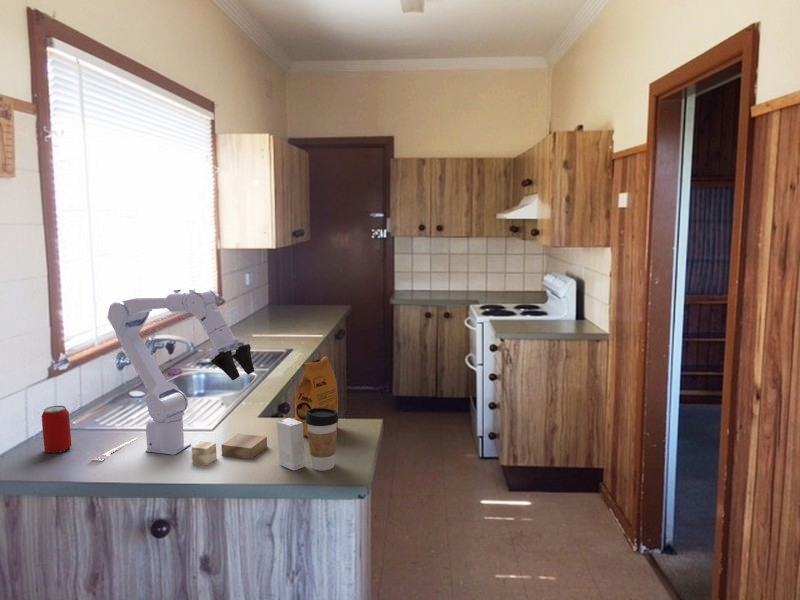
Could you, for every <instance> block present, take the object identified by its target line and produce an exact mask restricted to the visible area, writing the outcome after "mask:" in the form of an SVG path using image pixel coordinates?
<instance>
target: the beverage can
mask: <svg viewBox="0 0 800 600" xmlns="http://www.w3.org/2000/svg"><path fill="white" fill-rule="evenodd" d="M41 425H42V426H41V427H42V437H43V438H42V439H43V447H44V451H46V452H48V453H50V452H59V453H61V452H60V451H63V452H65V451H64V450H66V449H67V450H68V449H70V448H71V446H72V433H71V419H70V412H69V410H68V409H67V407H66V406H65V405H53V406H48V407H45V408H44V409H43V412H42V414H41ZM67 450H66V451H67Z"/></svg>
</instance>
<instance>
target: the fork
mask: <svg viewBox="0 0 800 600" xmlns="http://www.w3.org/2000/svg"><path fill="white" fill-rule="evenodd" d="M136 439H137V440H138V439H139V437H136V438H133V439H131V440H130V441H127V442H125V443H123V444H121V445H119V446H117V447H115V448H112V449H111V450H109V451H107V452H104V453H103V454H102V455H106V456H110V457H111V455H112V454H113V452H114V453H115V451H116V450H118V449H120V448H121V447H123V446H125V445H126V444H128V443H130V442H132V441H133V442H134V440H135V441H137V440H136ZM133 442H132V443H133ZM130 444H131V443H130ZM128 445H129V444H128ZM125 447H126V446H125ZM123 448H124V447H123ZM120 450H121V449H120ZM118 451H119V450H118ZM116 452H117V451H116ZM111 453H112V454H111ZM87 459H88V460H89V461H99V462H101V461H102V462H104V461H103V460H104V459H102V460H101V459H99V460H98V459H96V458H87Z"/></svg>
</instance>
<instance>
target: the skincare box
mask: <svg viewBox="0 0 800 600" xmlns="http://www.w3.org/2000/svg"><path fill="white" fill-rule="evenodd" d="M276 429H277V443H278V455H279V456H278V457H279V458H278V459H279V465H280V466H282V467H284V468H287V469H288V470H291V471H293V472H294V471H297V470H300V469H302V468H305V467H306V455H305V453H306V452H305V436H304V434H303V423H302V422H299V421H296V420H295V419H294V418H290V417H288V418H284V419H281V420H278V421H276Z"/></svg>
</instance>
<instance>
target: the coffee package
mask: <svg viewBox="0 0 800 600" xmlns="http://www.w3.org/2000/svg"><path fill="white" fill-rule="evenodd" d="M301 368H303V369H304V371H305V372H304V373H303V376H302V378H301V381H300V383H299V384H298V387H297V389H296V391H295V397H294V408H295V409H294V411H295V415H294V416H295V417H294V418H295V419H294V420H296V421H299V422H302V423H303V434H304V437H307V438H308V431H307V429H308V424H307V423H306V413H307V412H306V411H307V410H309V409H311V408H329V409H334V410H336V411H337V415H338V412H339V411H338V410H339V407H338V406H339V405H338V403H339V399H338V398H339V397H338V385H337V379H336V375H335V371H334V370H333V368H332V365H331V362H330V361H329V357H327V356H323V357H322V359H321V360H319V361H316V362H314V361H313V362H303V364H302V365H301ZM338 416H339V415H338ZM338 424H339V421H338V422H337V429H338V427H339V425H338Z"/></svg>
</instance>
